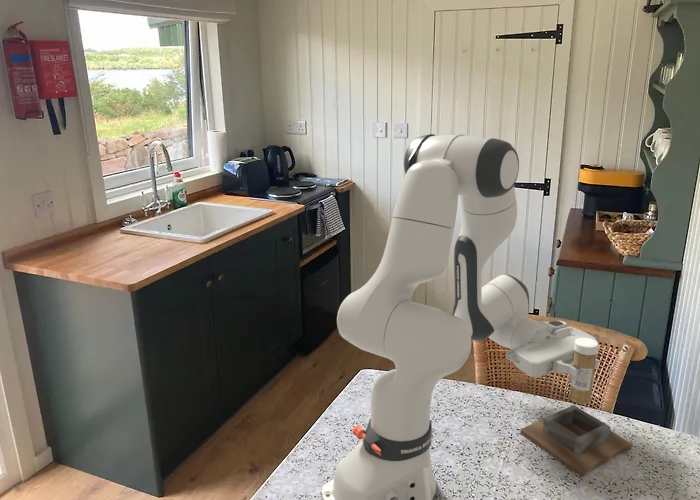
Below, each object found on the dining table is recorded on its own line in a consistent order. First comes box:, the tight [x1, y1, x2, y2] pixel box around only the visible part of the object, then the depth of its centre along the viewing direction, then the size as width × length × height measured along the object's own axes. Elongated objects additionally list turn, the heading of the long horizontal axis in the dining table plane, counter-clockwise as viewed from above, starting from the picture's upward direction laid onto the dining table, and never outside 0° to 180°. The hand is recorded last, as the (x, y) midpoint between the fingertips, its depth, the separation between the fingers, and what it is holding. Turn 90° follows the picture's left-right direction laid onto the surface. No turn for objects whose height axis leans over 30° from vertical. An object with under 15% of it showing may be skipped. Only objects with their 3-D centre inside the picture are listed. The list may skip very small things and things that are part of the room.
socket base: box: [519, 404, 633, 477], centre depth 123 cm, size 16×16×5 cm
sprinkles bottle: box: [568, 338, 600, 405], centre depth 118 cm, size 5×5×14 cm
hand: (587, 368), depth 117 cm, fingers closed on sprinkles bottle, 4 cm apart
